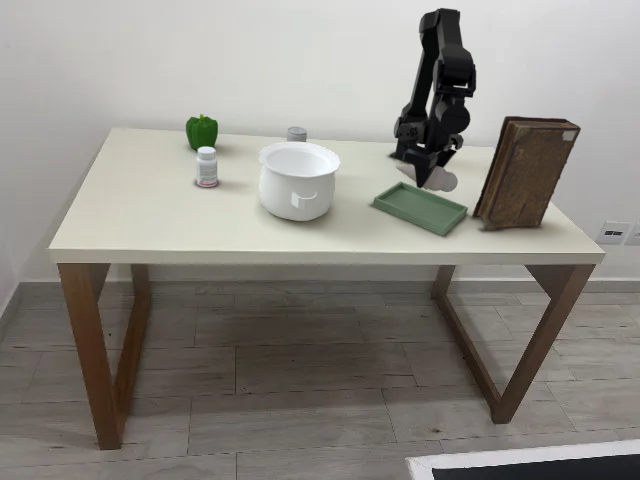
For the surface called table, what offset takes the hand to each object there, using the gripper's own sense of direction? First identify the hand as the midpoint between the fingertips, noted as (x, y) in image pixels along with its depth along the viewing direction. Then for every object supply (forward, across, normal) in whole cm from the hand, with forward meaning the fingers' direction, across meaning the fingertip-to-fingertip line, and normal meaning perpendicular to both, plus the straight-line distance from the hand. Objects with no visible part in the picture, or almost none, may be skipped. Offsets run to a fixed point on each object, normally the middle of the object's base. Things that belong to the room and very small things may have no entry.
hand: (426, 183), depth 114 cm
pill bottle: (+7, +27, -43) cm, 51 cm away
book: (+7, -10, +18) cm, 22 cm away
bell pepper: (+8, +14, -59) cm, 61 cm away
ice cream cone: (+1, +1, 0) cm, 2 cm away
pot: (+7, +21, -21) cm, 31 cm away
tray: (+7, 0, 0) cm, 7 cm away
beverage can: (+8, +8, -32) cm, 34 cm away
